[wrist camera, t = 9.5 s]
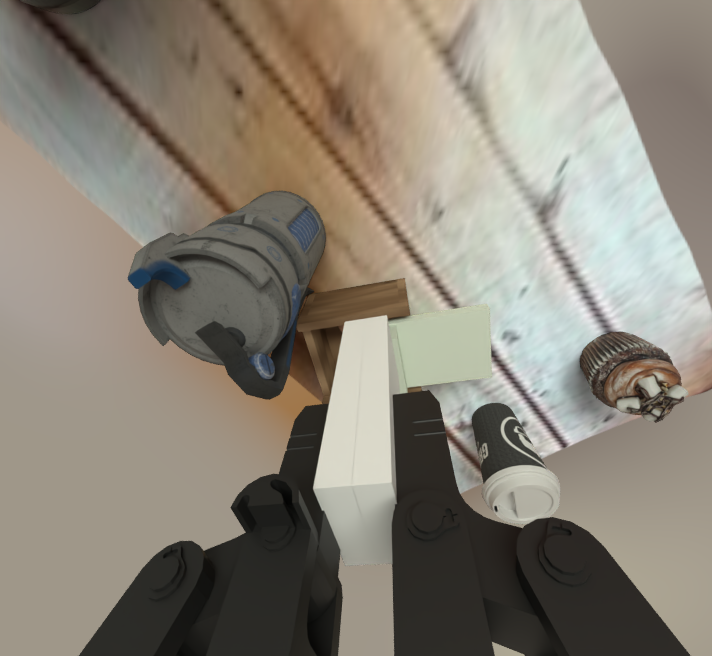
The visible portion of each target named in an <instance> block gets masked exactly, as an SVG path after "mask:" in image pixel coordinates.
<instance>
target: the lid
mask: <svg viewBox="0 0 712 656" xmlns="http://www.w3.org/2000/svg"><path fill="white" fill-rule="evenodd" d="M388 323H389V329H390V334H391V339H392V344H393V350H394V355H395V360H396V366H397V371H398V376H399V388H400V394H402V393H408V391H407V388H409V387H417V386H425V385H433V384H441V383H450V382H458V381H466V380H474V379H482V378H490V377H492V370H491V337H490V308H489V307H488V305H487V304H483V305H476V306H470V307H463V308H457V309H450V310H444V311H437V312H431V313H425V314H418V315H412V316H405V317H399V318H392V319H388Z"/></svg>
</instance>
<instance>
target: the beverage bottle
mask: <svg viewBox="0 0 712 656" xmlns="http://www.w3.org/2000/svg"><path fill="white" fill-rule="evenodd" d="M325 242H326V234H325V228H324V224H323V221H322V219H321V217H320V215H319V213H318V212H317V211H316V209H315V208H314V207H313V206H312V205H311V204H310V203H309V202H308V201H307V200H305V199H304V198H302V197H300V196H299V195H296V194H294V193H291V192H286V191H272V192H268V193H265V194H263V195H261V196H259V197H257V198H256V199H254V200H253V201H252V202H251V203H249V204H248V205H246V206H244V207H242V208H241V209H239V210H237V211H236V212H234V213H231V214H228V215H226V216H224V217H222V218H220V219H218V220H216V221H215V222H213V223H211V224H209V225H208V226H207V227H205V228H203V229H201V230H199V231H197V232H196V233H194V234H192V235H190V236H188V235H186V234H184V233H183V234H181V235H180V236H176V235H175V234H174V233H168V234H166V235H164V236H162V237H160V238H158V239H156V240H154V241H152V242H150V243H149V244H147V245H146V246H145V247H143V248H142V249H141V250H139V251H138V252H137V253H136V254H135V258H134V261H133V263H132V266H131V269H130V272H129V276H128V280H129V282H130V283H131V284H132V285H133V286H134V287H135V288H136V289H139V292H138V301H139V306H140V311H141V314H142V316H143V319H144V321H145V324H146V325H147V327H148V328H149V330H150V332H151V333H152V334H153V336H154V337H155V338H156V339H157V340H158V341H159V342H160V344H162V346H164V345H165V344H166V343H167V342H168V341H169V340H171V341H173V342H174V343H175V344H176V345H177V346H178V347H179V348H181V349H183V350H184V351H186V352H187V353H189V354H190V355H192V356H194V357H196V358H199V359H201V360H203V361H206V362H210V363H213V364H218V365H224V366H225V368H226V370H227V373H228V375H229V376H230V377H231V378H232V379H233V380H234V382H236V384H237V385H238V386H239V387H240V388H241V389H242V390H243V391H244V392H245V393H246V394H248V395H251V396H255V397H259V398H263V399H272V398H274V397H276V396H278V395H279V394H280V393H281V392H282V390H283V388H284V385H285V383H286V380H287V376H288V374H289V370H290V364H291V358H292V352H293V345H294V339H295V333H296V327H297V321H298V315H299V311H300V309H301V306H302V304H303V301H304V299H305V297H306V296H307V295H309V294H311V293H313V292H314V291H313V290H311V289H310V288H308V287H307V286H308V284H309V282H310V280H311V277H312V275H313V273H314V271H315V269H316V267H317V265H318V262H319V260H320V258H321V256H322V254H323V251H324V248H325ZM271 352H272V354H271V358H270V357H269V356H268V354H270V353H271Z"/></svg>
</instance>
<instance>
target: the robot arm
mask: <svg viewBox="0 0 712 656" xmlns="http://www.w3.org/2000/svg"><path fill="white" fill-rule="evenodd" d="M20 1H22V2H25V3H27V4H30V5H33V6H35V7H38V8H41V9H44V10H47V11H50V12H54V13H60V14H73V13H79V12H82V11H85V10H87V9H89V8H91V7H93V6H94V5H96V4H97V3H98V2H99V1H100V0H20ZM290 436H291V438H290V439H289V441H288V445H287V451H286V452H285V455H284V458H283V462H282V465H281V468H280V472H279V474H271V475H267V476H263V477H260V478H259V479H257V480H255V481H253V482H252V483H250V484H248V485H247V486H246V487H245V488H244V489H243V490H242V492H240V493H239V494H238V496H237V497H236V499H235V501H234V503H233V504H232V506H231V509H232V511H233V512H234V514H235V516H236V517H237V519H238V520H239V522H240V524H241V525H242V527H243V529H244V530H245V532H246V533H244V534H242V535H240V536H238V537H237V538H235V539H232V540H230V541H227V542H225V543H222V544H220V545H217V546H215V547H212V548H210V549H207V550H205V551H203V549H202V548H201V547H200V546H199V545H197V544H196V543H194V542H193V541H180V542H177V543H174V544H172V545H169V546H167V547H166V548H164V549H163V550H162V551H160V552H159V553H158V554H156V555H155V556H154V557H153V558H152V559H151V560H150V561H149V562H148V563H147V564H146V565H145V567H144V568H143V569H142V570H141V571H140V573H139V574H138V576H137V577H136V578H135V580H134V581H133V582H132V584H131V585H130V587H129V588H128V589H127V590H126V592H125V593H124V595H123V596H122V597H121V599H120V600H119V601H118V603H117V604H116V606H115V607H114V608H113V610H112V611H111V612H110V614H109V615H108V616H107V618H106V619H105V621H104V622H103V623H102V625H101V626H100V627H99V629H98V630H97V632H96V633H95V634H94V636H93V637H92V638H91V640H90V641H89V642H88V644H87V645H86V647H85V648H84V649H83V651H82V652H81V653H80V655H79V656H338V647H339V635H340V623H341V611H342V598H343V597H342V585H341V583H340V581H339V578H338V570H339V560H340V555H341V557H342V560H343V562H344V564H345V566H352V565H376V564H392V567H393V610H394V611H393V613H394V656H495V655H494V650H493V646H492V642H494V643H497V644H499V645H502V646H504V647H507V648H509V649H512V650H514V651H517V652H520V653H522V654H524V655H525V656H690V654H689V653H688V652H687V651H686V649H685V648H684V647H683V646H682V644H681V643H680V642H679V641H678V639H677V638H676V637H675V636H674V634H673V633H672V632H671V631H670V629H669V628H668V627H667V625H666V624H665V623H664V622H663V620H662V619H661V618H660V617H659V615H658V614H657V613H656V612H655V610H654V609H653V608H652V606H651V605H650V604H649V603H648V601H647V600H646V599H645V598H644V596H643V595H642V594H641V593H640V592H639V590H638V589H637V588H636V586H635V585H634V584H633V583H632V582H631V580H630V579H629V578H628V576H627V575H626V574H625V573H624V571H623V570H622V569H621V567H620V566H619V565H618V564H617V562H616V561H615V560H614V559H613V557H612V556H611V555H610V554H609V552H608V551H607V550H606V549H605V547H604V546H603V545H602V544H601V543H600V542H599V541H598V540H597V539H596V538H595V537H594V536H593V535H591V534H590V533H589V532H588V531H587V530H585V529H583V528H581V527H579V526H578V525H576V524H574V523H572V522H570V521H566V520H562V519H558V518H554V517H550V518H540V519H535V520H534V521H532V522H530V523H529V524H527V525H525V526H524V527H523V528H520V527H516V526H512V525H508V524H504V523H500V522H497V521H494V520H491V519H488V518H486V517H483V516H482V515H480V514H479V513H477V512H475V511H474V510H473V509H472V508H471V507H470V506H469V505H468V504H466V503H465V501H464V499H463V498H462V496H461V495H460V493H459V490H458V487H457V484H456V480H455V475H454V470H453V465H452V461H451V456H450V451H449V446H448V442H447V437H446V432H445V427H444V422H443V418H442V413H441V408H440V403H439V401H438V400H437V399H436V398H435V397H434V396H433V395H432V393H431V392H430V391H429V390H427V391H419V392H410V393H402V394H400V388H399V376H398V371H397V366H396V360H395V355H394V350H393V344H392V339H391V334H390V329H389V323H388V318H387V315H385V316H378V317H372V318H366V319H359V320H353V321H346V322H345V323H344V328H343V334H342V339H341V344H340V349H339V355H338V360H337V365H336V370H335V376H334V381H333V386H332V391H331V397H330V402H329V403H328V404H320V405H312V406H305V408H304V409H303V410H302V412H301V413H300V414H299V415H298V417H297V418H296V419H295V421H294V425H293V428H292V431H291V435H290Z"/></svg>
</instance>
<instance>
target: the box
mask: <svg viewBox="0 0 712 656" xmlns="http://www.w3.org/2000/svg"><path fill="white" fill-rule="evenodd" d="M385 315H387V318H388V319H392V318H399V317H405V316H410V311H409V304H408V297H407V291H406V284H405V278H403V279H397V280H391V281H385V282H379V283H374V284H368V285H362V286H356V287H350V288H345V289H339V290H333V291H327V292H321V293H316V294H310V295H309V296H308V298H307V300H306V303H305V305H304V307H303V310H302V312H301V314H300V316H299V319H298V321H297V330H298V332H303V335H304V338H305V341H306V344H307V347H308V350H309V353H310V356H311V359H312V362H313V365H314V368H315V371H316V374H317V377H318V380H319V383H320V386H321V389H322V392H323V396H324V398H323V402H322V404H328V403H329V402H330V397H331V391H332V386H333V381H334V376H335V370H336V365H337V360H338V355H339V349H340V344H341V339H342V334H343V333H342V332H341V331H340V329H339V327H338V326H342V325H344V323H345V322H346V321H353V320H359V319H366V318H372V317H378V316H385ZM407 391H408V393H410V392H419V391H422V389H421V386H417V387H409V388H407Z"/></svg>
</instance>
